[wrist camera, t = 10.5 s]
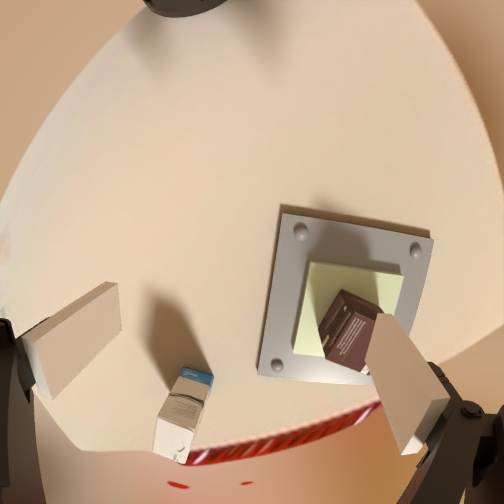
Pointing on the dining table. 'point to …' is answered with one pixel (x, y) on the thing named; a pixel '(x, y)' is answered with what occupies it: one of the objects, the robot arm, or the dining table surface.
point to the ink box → (182, 415)
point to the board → (335, 290)
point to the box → (348, 331)
